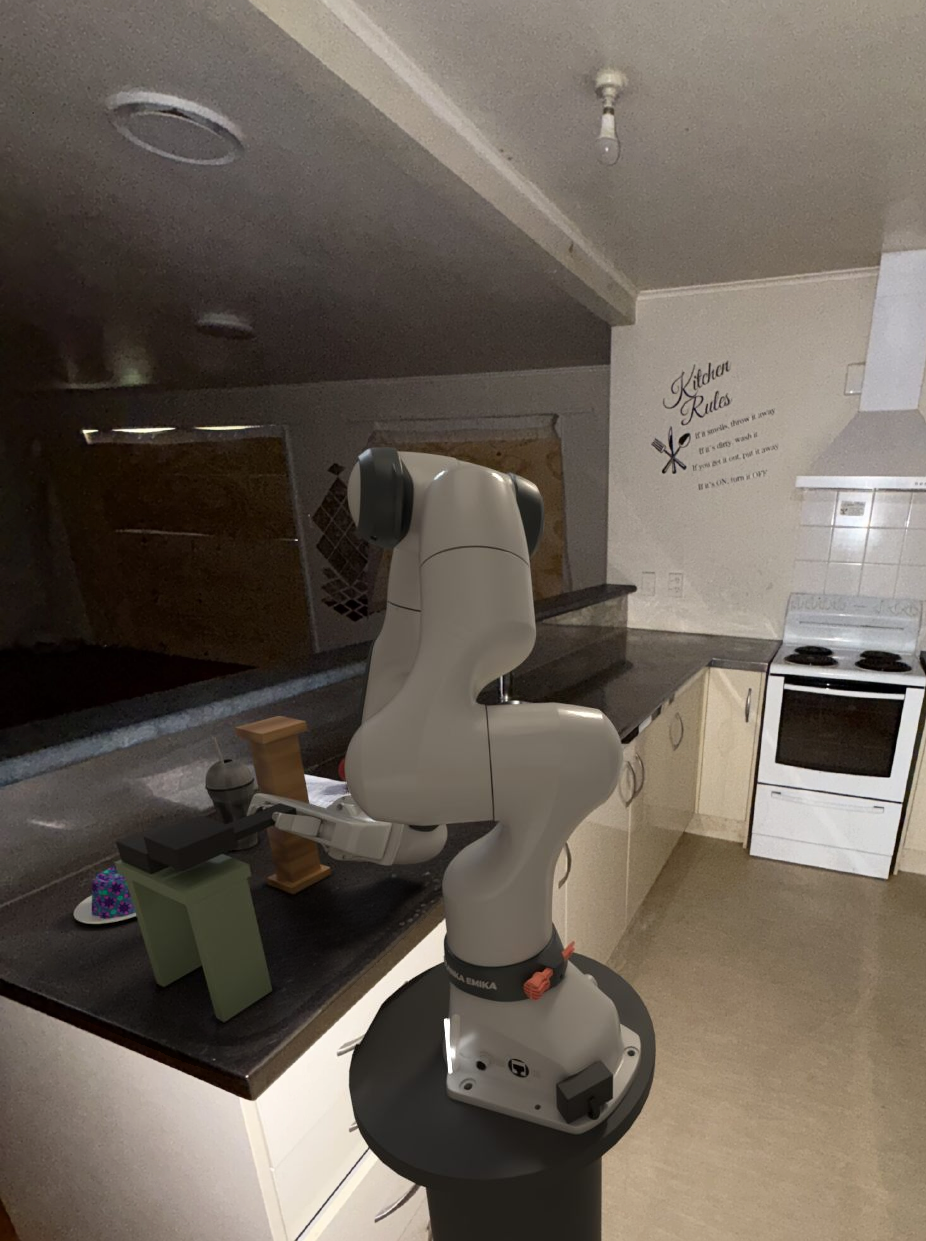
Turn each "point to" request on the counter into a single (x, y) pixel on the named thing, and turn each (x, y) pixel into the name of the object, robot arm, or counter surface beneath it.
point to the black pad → (205, 837)
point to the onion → (342, 770)
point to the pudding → (106, 900)
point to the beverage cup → (231, 792)
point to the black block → (141, 850)
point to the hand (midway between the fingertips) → (263, 815)
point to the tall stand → (284, 778)
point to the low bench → (202, 929)
